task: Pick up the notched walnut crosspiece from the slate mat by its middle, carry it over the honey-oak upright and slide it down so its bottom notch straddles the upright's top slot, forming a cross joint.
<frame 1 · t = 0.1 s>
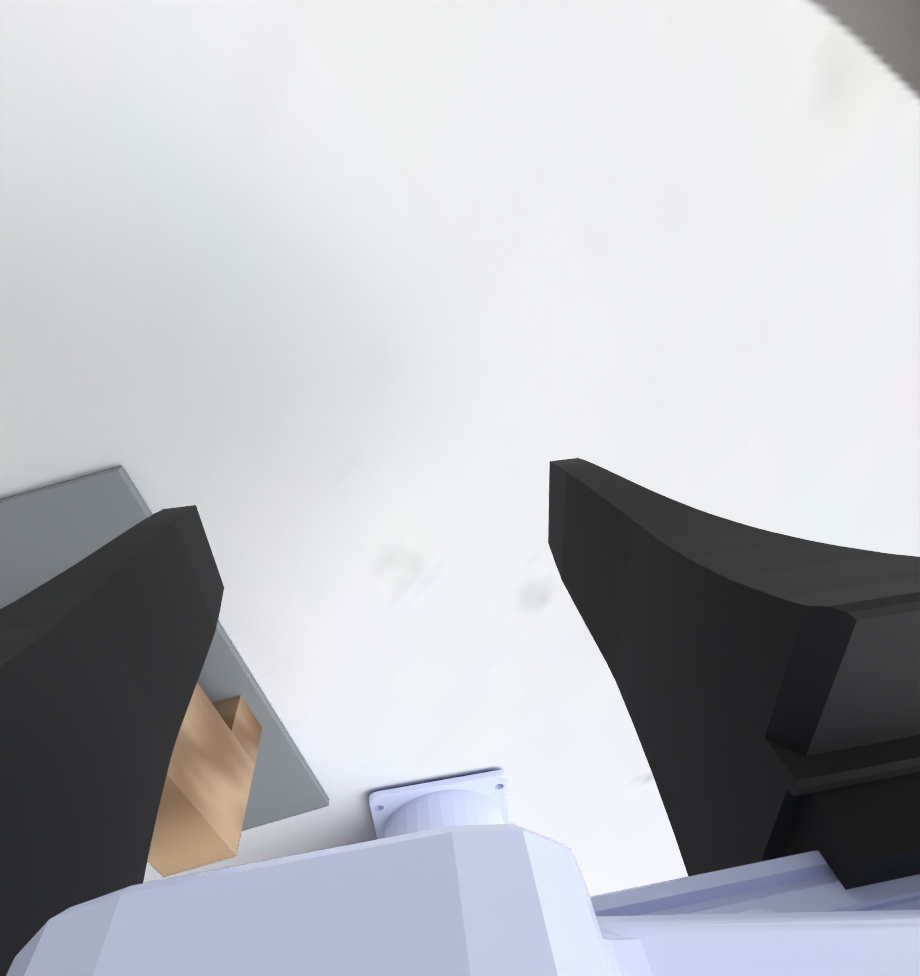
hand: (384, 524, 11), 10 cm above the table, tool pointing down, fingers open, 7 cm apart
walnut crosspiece: (190, 675, 25), resting on slate mat
slate mat: (61, 720, 25), on the table
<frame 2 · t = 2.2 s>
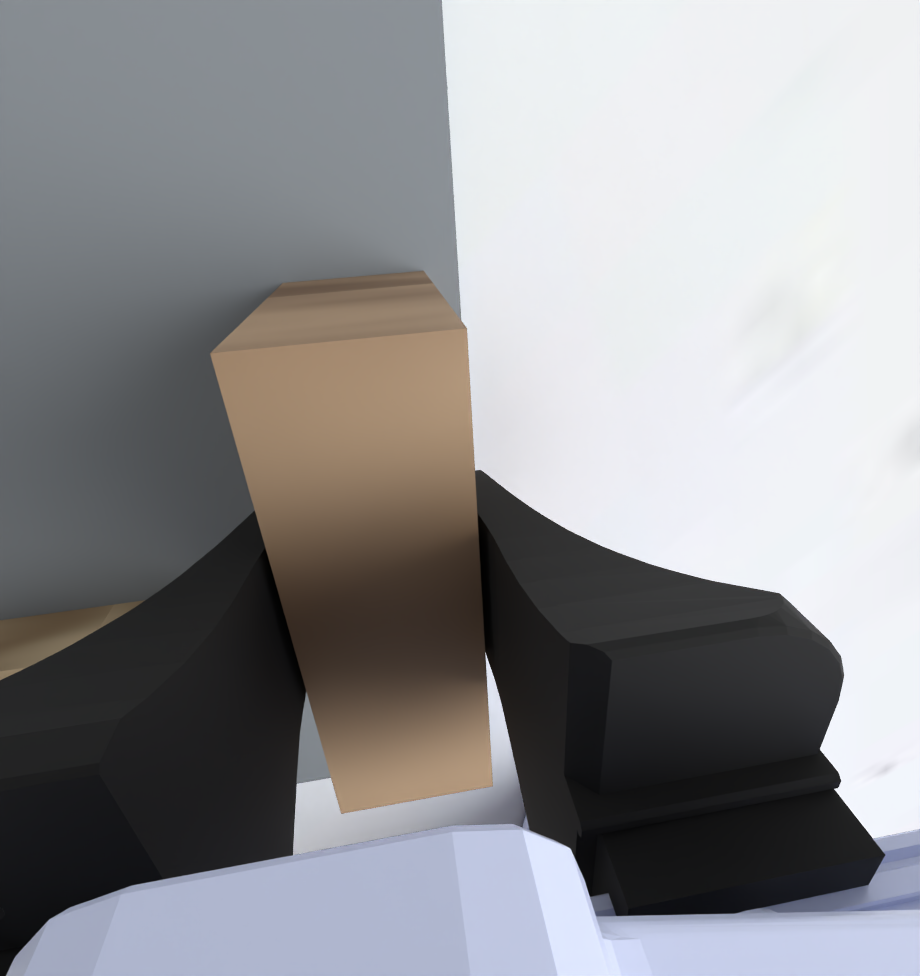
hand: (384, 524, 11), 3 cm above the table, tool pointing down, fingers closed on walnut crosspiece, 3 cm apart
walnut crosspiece: (382, 464, 14), resting on slate mat, touching gripper
slate mat: (122, 519, 14), on the table
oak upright: (21, 650, 15), resting on slate mat
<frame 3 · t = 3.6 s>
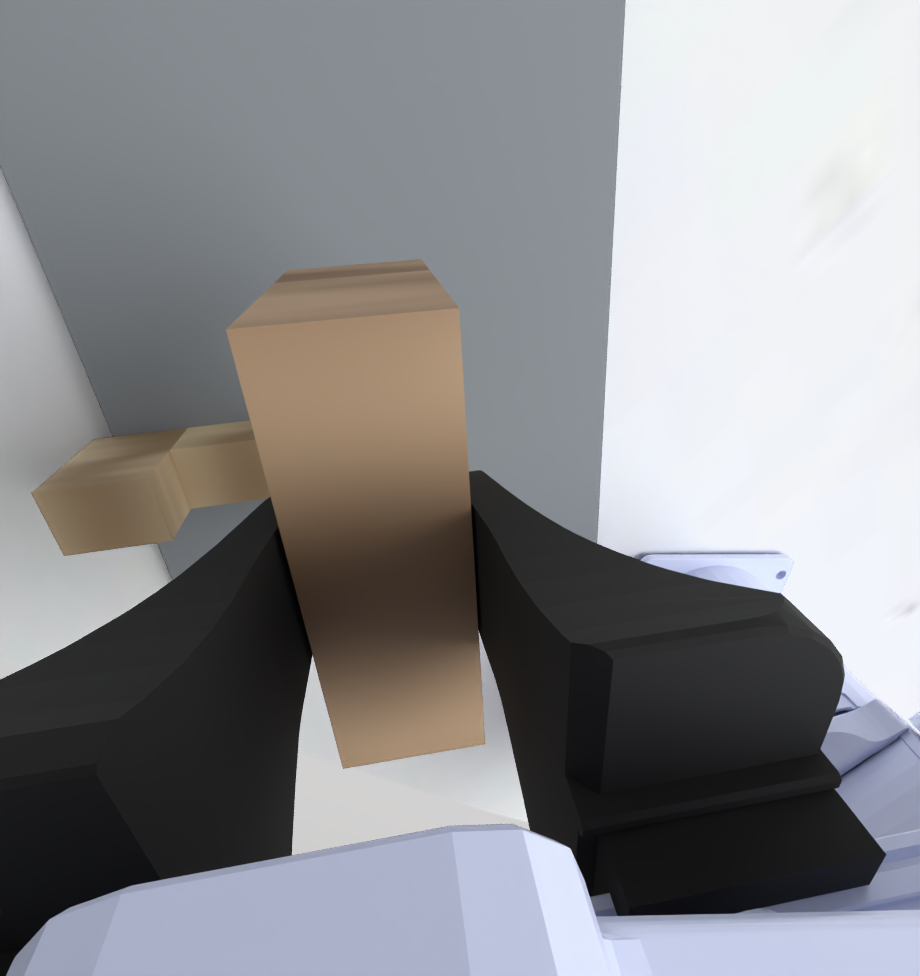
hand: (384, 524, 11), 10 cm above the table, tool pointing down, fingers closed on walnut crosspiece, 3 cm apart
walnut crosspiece: (381, 445, 14), point 6 cm above the table, touching gripper
slate mat: (359, 339, 19), on the table
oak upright: (275, 445, 20), resting on slate mat
when the fingers open (5 cm above the table, at t = 5.1 s): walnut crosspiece stays where it is, resting on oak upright, slate mat.
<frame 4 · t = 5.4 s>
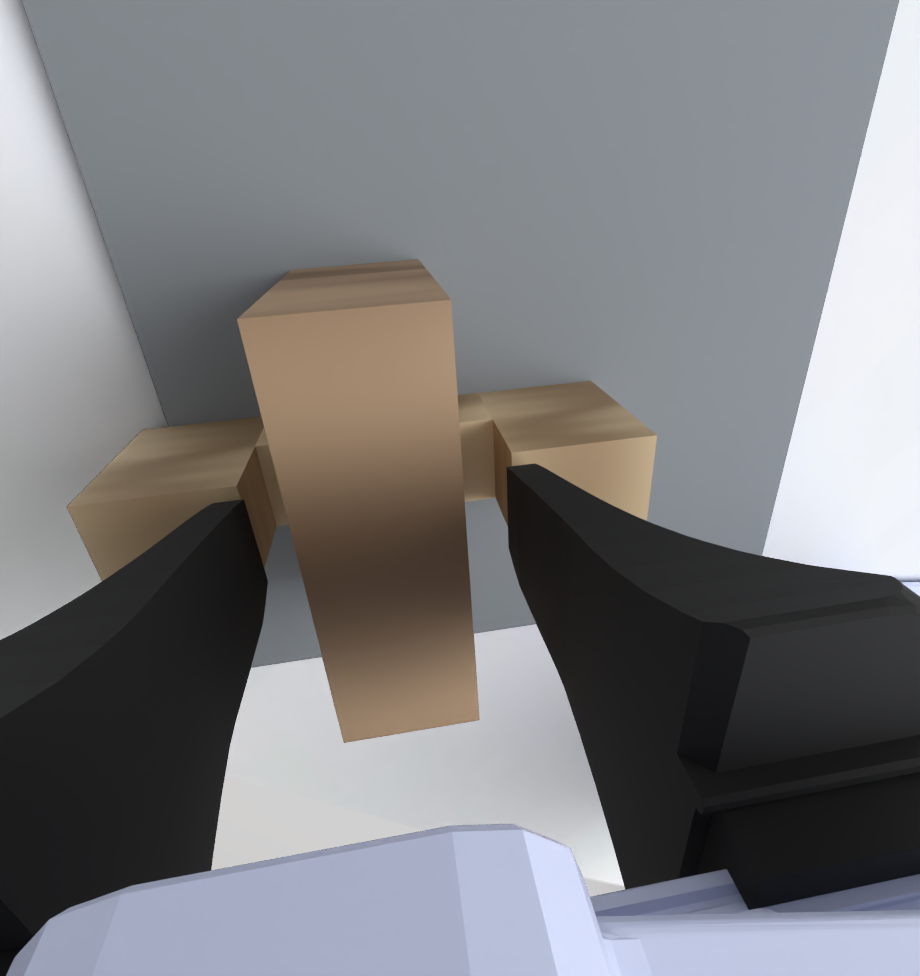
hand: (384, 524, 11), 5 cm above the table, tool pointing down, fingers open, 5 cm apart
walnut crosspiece: (380, 438, 15), resting on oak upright, slate mat
slate mat: (503, 299, 14), on the table
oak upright: (381, 441, 15), resting on slate mat
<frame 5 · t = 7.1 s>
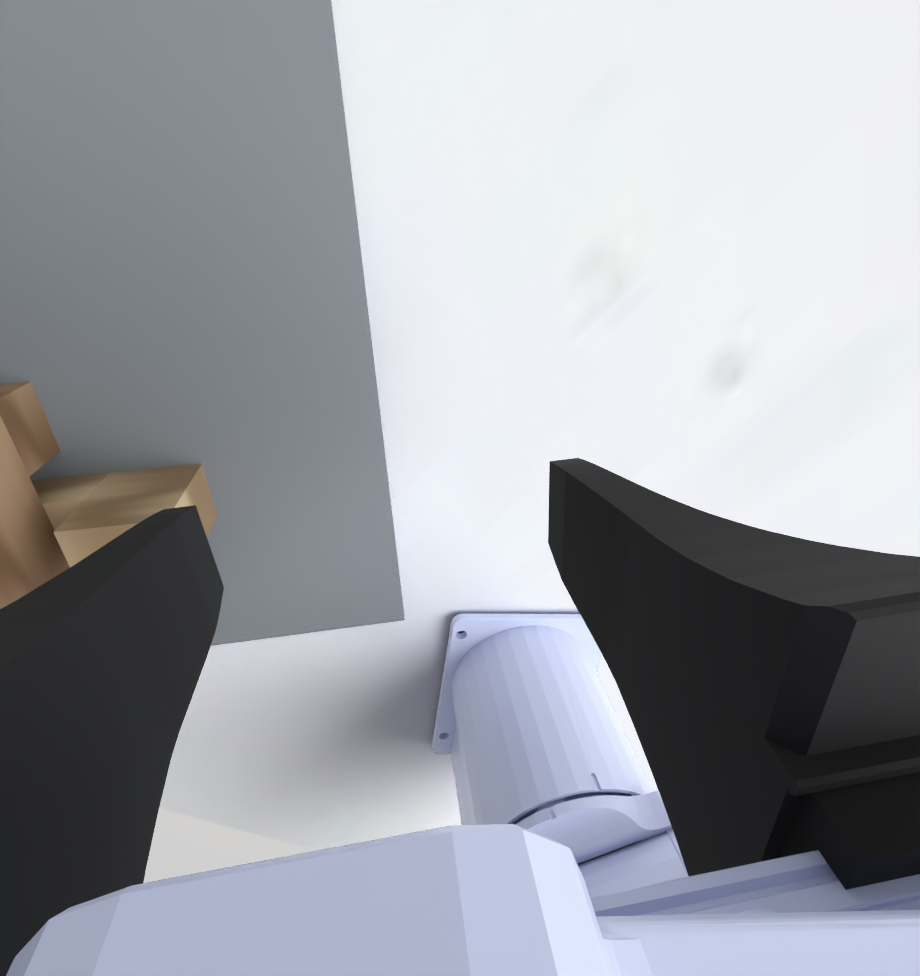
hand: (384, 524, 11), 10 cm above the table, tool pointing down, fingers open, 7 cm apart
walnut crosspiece: (38, 505, 20), resting on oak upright, slate mat
slate mat: (117, 405, 19), on the table
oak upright: (39, 507, 20), resting on slate mat
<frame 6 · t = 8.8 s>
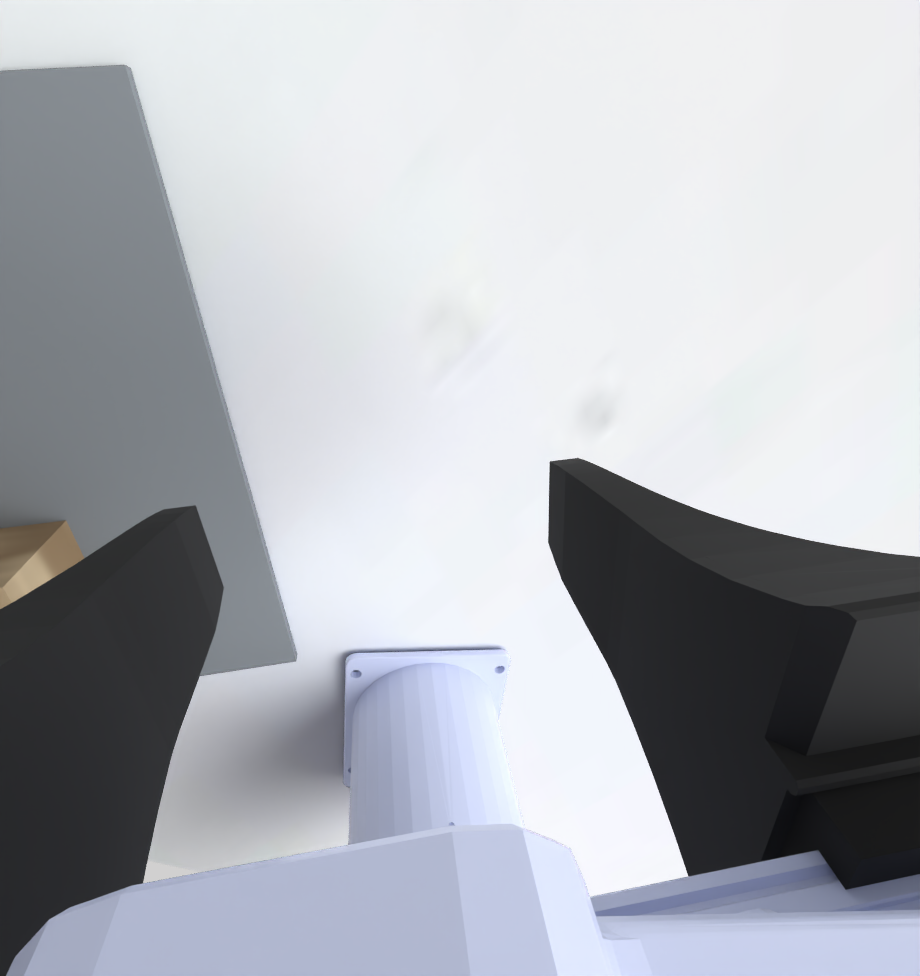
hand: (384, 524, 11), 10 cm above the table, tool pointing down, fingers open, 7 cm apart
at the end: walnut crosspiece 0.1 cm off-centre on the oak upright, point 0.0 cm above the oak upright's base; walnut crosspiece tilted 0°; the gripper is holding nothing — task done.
